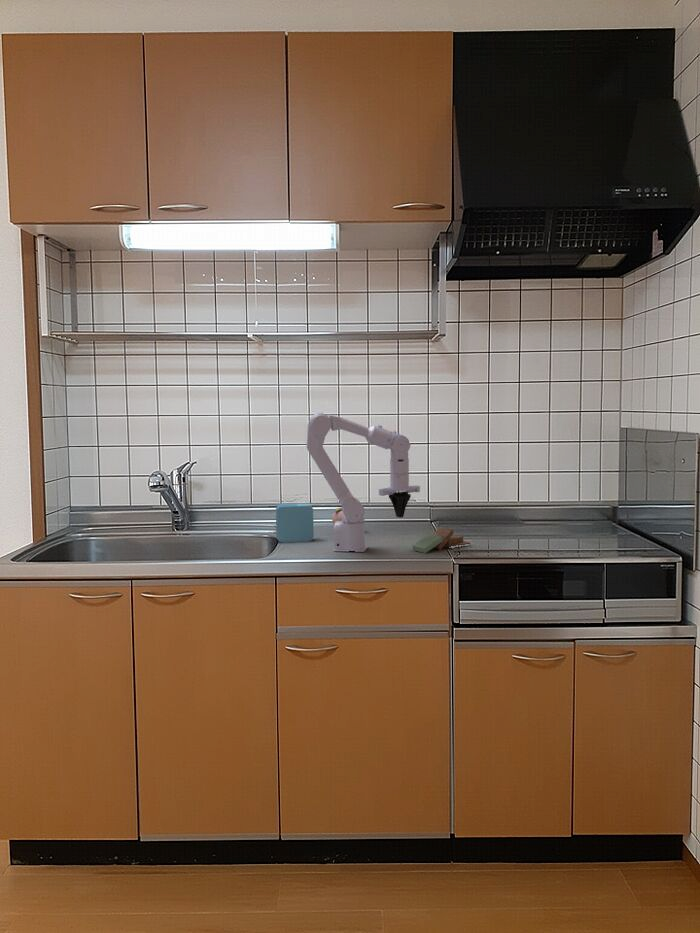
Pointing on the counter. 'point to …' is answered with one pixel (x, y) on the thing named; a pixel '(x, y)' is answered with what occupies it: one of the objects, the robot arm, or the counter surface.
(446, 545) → the walnut domino
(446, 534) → the walnut domino
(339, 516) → the decorative fruit
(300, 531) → the blue square slab
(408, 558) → the counter surface
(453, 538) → the walnut domino
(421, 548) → the green domino
